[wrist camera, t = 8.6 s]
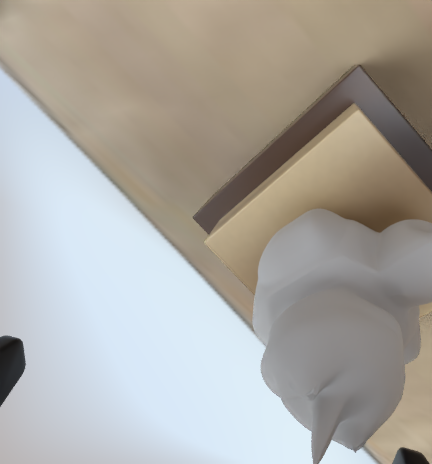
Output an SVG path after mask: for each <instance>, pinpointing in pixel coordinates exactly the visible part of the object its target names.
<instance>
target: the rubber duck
mask: <svg viewBox="0 0 432 464" xmlns="http://www.w3.org/2000/svg"><path fill="white" fill-rule="evenodd" d="M431 302H432V223H430V222H427V221H423V220H418V219H410V220H403V221H399V222H397V223H395V224H392V225H391V226H389V227H387V228H386V229H385V230H383V231H382V232H380V233H378V232H376V231H374V230H372V229H370V228H368V227H367V226H365V225H363V224H361V223H359V222H357V221H354V220H349V219H345V218H342V217H341V216H339V215H337V214H335V213H333V212H331V211H328V210H326V209H312V210H310V211H308V212H306V213H304V214H302V215H301V216H299V217H298V218H296V219H295V220H293V221H292V222H290V223H289V224H287V225H286V226H284V227H283V228H282V229H280V230H279V231H278V232H277V233H276V234H275V235H274V236H273V237H272V238H271V240H270V241H269V243H268V244H267V246H266V248H265V250H264V251H263V254H262V256H261V258H260V262H259V266H258V282H257V286H256V292H255V298H254V308H253V328H254V331H255V333H256V335H257V336H258V337H259V339H260V340H261V341H262V342H263V343H264V345H265V346H266V350H265V352H264V355H263V358H262V361H261V373H262V377H263V379H264V381H265V383H266V385H267V386H268V387H269V389H270V390H271V391H272V392H273V393H275V394H276V395H277V396H279V397H280V398H281V400H282V402H283V404H284V405H285V407H286V408H287V409H288V411H289V412H290V413H291V414H292V415H293V416H294V418H295V419H296V420H297V421H299V422H300V423H301V424H302V425H303V426H304V427H306V428H307V429H308V430H310V431H312V441H311V442H312V457H313V464H318V463H319V462H320V461H321V459H322V457H323V456H324V454H325V452H326V450H327V448H328V446H329V444H330V442H331V440H333V441H336V442H338V443H340V444H342V445H344V446H345V447H347V448H349V449H351V450H354V451H355V452H356V451H357V450H359V449H360V448H362V447H363V446H364V444H365V443H366V441H367V440H368V439H369V438H370V437H371V436H372V435H373V434H374V433H375V432H376V431H377V430H378V428H379V427H380V426H381V425H382V424H383V423H384V422H385V421H386V420H387V419H388V418H389V417H390V416H391V415H392V413H393V412H394V410H395V409H396V407H397V405H398V403H399V402H400V400H401V397H402V395H403V389H404V384H405V366H404V365H405V364H408V363H409V362H411V361H413V360H414V359H416V358H417V356H418V355H419V352H420V342H421V337H420V325H419V314H420V310H419V305H423V304H428V303H431Z"/></svg>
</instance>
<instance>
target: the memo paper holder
mask: <svg viewBox="0 0 432 464" xmlns="http://www.w3.org/2000/svg"><path fill="white" fill-rule="evenodd" d="M312 209H326V210H328V211H331V212H333V213H335V214H337V215H339V216H341V217H342V218H345V219H349V220H354V221H357V222H359V223H361V224H363V225H365V226H367V227H368V228H370V229H372V230H374V231H376V232H378V233H380V232H382V231H383V230H385V229H386V228H387V227H389V226H391V225H392V224H395V223H397V222H399V221H403V220H410V219H418V220H423V221H427V222H430V223H432V149H431V148H430V147H429V146H428V145H427V143H426V142H425V141H424V140H423V139H422V138H421V136H420V135H419V134H418V133H417V132H416V130H415V129H414V128H413V127H412V126H411V125H410V123H409V122H408V121H407V120H406V119H405V117H404V116H403V115H402V114H401V113H400V112H399V110H398V109H397V108H396V107H395V106H394V104H393V103H392V102H391V101H390V100H389V99H388V97H387V96H386V95H385V94H384V93H383V92H382V90H381V89H380V88H379V87H378V86H377V84H376V83H375V82H374V81H373V80H372V79H371V77H370V76H369V75H368V74H367V73H366V71H365V70H364V69H363V68H362V67H361V66H360V65H354V66H353V67H352V68H351V69H349V70H348V71H347V72H346V73H345V74H344V75H343V76H342V77H341V78H340V79H339V80H338V81H336V82H335V83H334V84H333V85H332V86H331V87H330V88H329V89H328V90H327V91H326V92H325V93H323V94H322V95H321V96H320V97H319V98H318V99H317V100H316V101H315V102H314V103H313V104H312V105H310V106H309V107H308V108H307V109H306V110H305V111H304V112H303V113H302V114H301V115H300V116H299V117H297V118H296V119H295V120H294V121H293V122H292V123H291V124H290V125H289V126H288V127H287V128H286V129H284V130H283V131H282V132H281V133H280V134H279V135H278V136H277V137H276V138H275V139H274V140H273V141H271V142H270V143H269V144H268V145H267V146H266V147H265V148H264V149H263V150H262V151H261V152H260V153H258V154H257V155H256V156H255V157H254V158H253V159H252V160H251V161H250V162H249V163H248V164H247V165H245V166H244V167H243V168H242V169H241V170H240V171H239V172H238V173H237V174H236V175H235V176H234V177H232V178H231V179H230V180H229V181H228V182H227V183H226V184H225V185H224V186H223V187H222V188H221V189H219V190H218V191H217V192H216V193H215V194H214V195H213V196H212V197H211V198H210V199H209V200H208V201H207V202H206V203H205V204H204V205H203V206H202V207H201V209H200V210H199V211H198V212H197V213H196V214H195V215H194V216H193V219H194V220H195V221H196V222H197V223H198V224H199V225H200V226H201V227H202V228H203V229H204V230H205V231H206V232H207V233H208V234H209V235H208V237H207V238H206V240H205V241H204V243H205V244H206V245H207V246H208V247H209V248H210V249H211V250H212V251H213V253H214V254H215V255H216V256H217V257H218V258H219V259H220V260H221V261H222V262H223V263H224V264H225V265H226V266H227V267H228V268H229V269H230V270H231V271H232V272H233V273H234V274H235V275H236V277H237V278H238V279H239V280H240V281H241V282H242V283H243V284H244V285H245V286H246V287H247V288H248V289H249V290H250V291H251V292H252V293H253V294H254V295H255V292H256V286H257V282H258V266H259V262H260V258H261V256H262V254H263V251H264V250H265V248H266V246H267V244H268V243H269V241H270V240H271V238H272V237H273V236H274V235H275V234H276V233H277V232H278V231H279V230H280V229H282V228H283V227H284V226H286V225H287V224H289V223H290V222H292V221H293V220H295V219H296V218H298V217H299V216H301V215H302V214H304V213H306V212H308V211H310V210H312ZM419 310H420V314H419V318H421V317H422V316H424V315H426V314H428V313H430V312H432V302H431V303H428V304H423V305H419Z"/></svg>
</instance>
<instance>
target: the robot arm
mask: <svg viewBox="0 0 432 464" xmlns="http://www.w3.org/2000/svg"><path fill="white" fill-rule="evenodd" d="M25 365H26V363H25V356H24V348H23V342H22V341H21V340H20V339H19V338H15V337H12V336H2V337H0V406H1V405H2V403H3V402H4V401H5V399H6V398H7V396H8V395H9V393H10V392H11V390H12V389H13V387H14V386H15V384H16V383H17V381H18V380H19V378H20V377H21V376H22V374H23V372H24V369H25ZM392 464H429V462H428V461H427V459H426V458H425V457H424V455H423V454H422V453H420V452H418V451H414V450H411V449H407V448H404V447H401V448H400V449H399V450H398V451H397V454H396V456H395V458H394V461H393V463H392Z"/></svg>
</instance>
